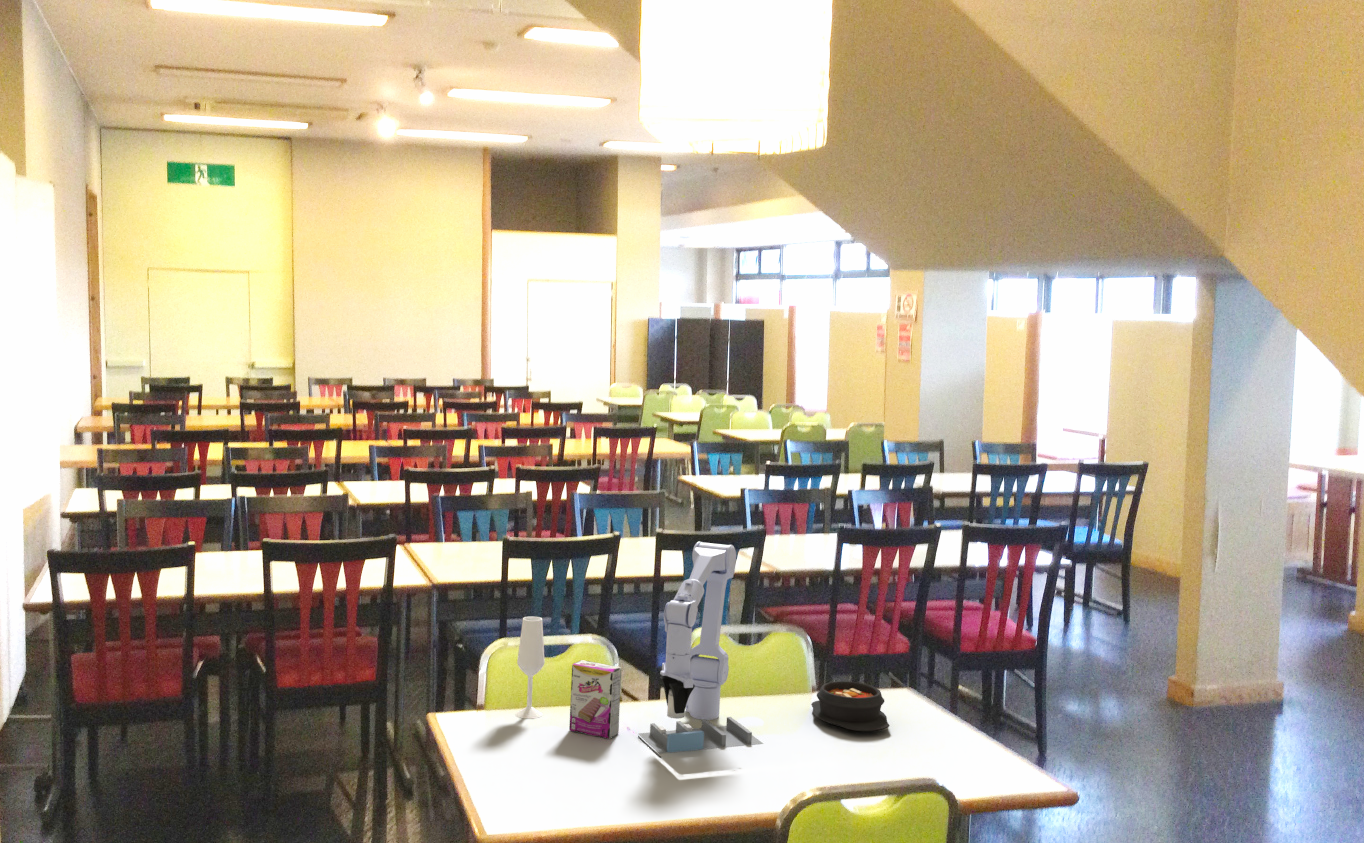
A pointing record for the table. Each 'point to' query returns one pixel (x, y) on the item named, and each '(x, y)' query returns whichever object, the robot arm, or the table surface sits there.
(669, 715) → the cream rounded cylinder
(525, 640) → the champagne flute
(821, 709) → the casserole
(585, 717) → the candy bar box
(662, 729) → the grey slotted rack
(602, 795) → the table surface
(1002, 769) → the table surface
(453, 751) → the table surface
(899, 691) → the table surface
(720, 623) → the robot arm
